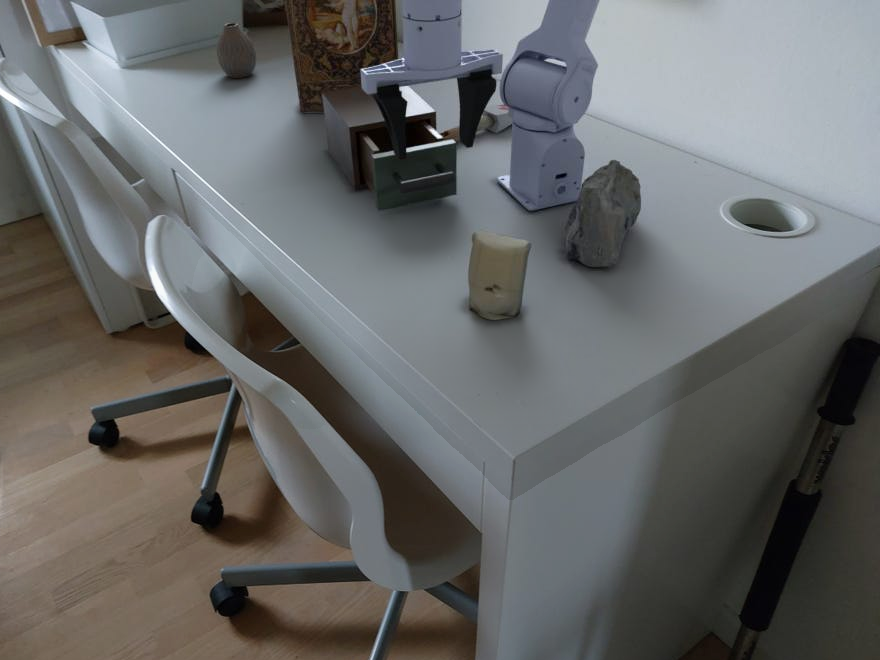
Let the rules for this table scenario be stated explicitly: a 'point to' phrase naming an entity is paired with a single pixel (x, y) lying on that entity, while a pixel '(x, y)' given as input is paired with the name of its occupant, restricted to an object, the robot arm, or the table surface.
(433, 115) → the cabinet
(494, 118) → the paintbrush
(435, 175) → the drawer
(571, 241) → the mineral rock
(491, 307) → the cream tall block
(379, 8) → the book
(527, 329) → the table surface
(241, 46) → the vase
